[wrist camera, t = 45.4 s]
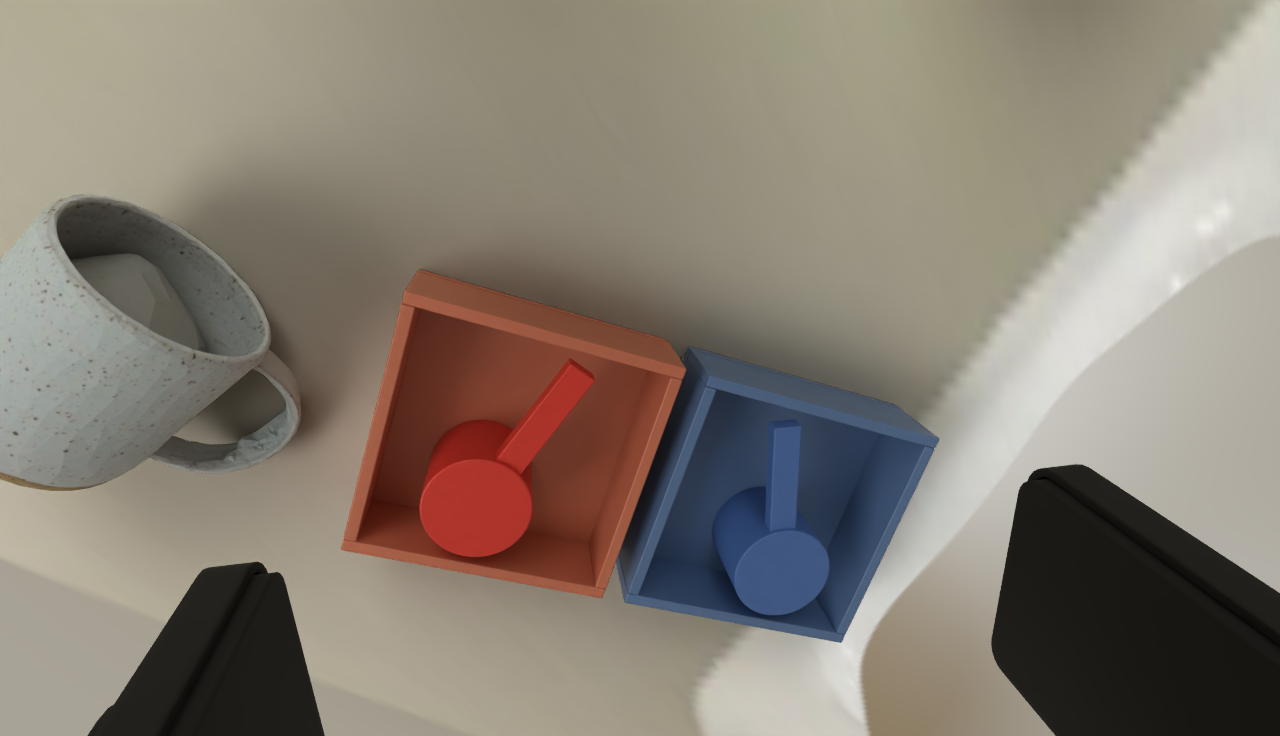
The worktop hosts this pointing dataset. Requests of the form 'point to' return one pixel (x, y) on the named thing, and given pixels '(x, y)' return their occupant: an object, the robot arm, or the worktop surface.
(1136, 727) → the robot arm
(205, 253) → the ceramic mug
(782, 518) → the blue scoop
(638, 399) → the red bin
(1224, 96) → the worktop surface
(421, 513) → the red scoop
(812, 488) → the blue bin
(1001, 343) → the worktop surface
